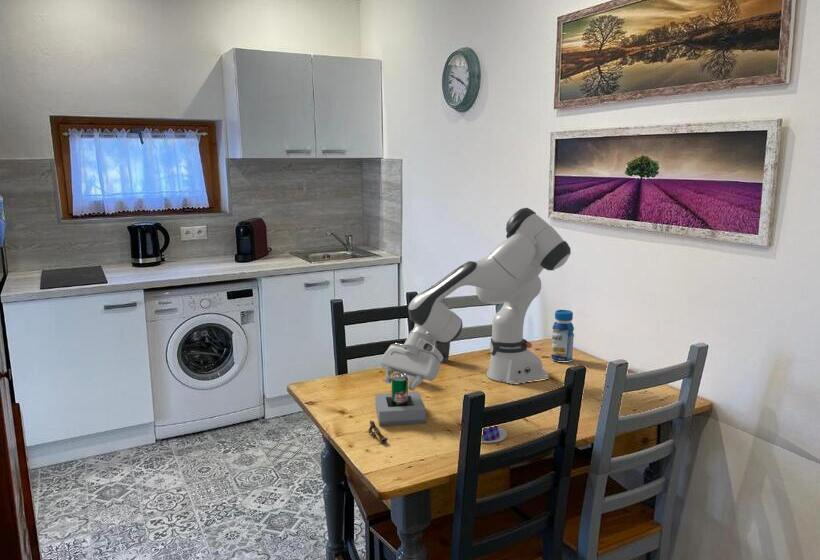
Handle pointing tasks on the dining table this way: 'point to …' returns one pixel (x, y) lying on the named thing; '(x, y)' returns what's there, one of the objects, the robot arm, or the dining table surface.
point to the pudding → (493, 434)
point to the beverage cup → (443, 350)
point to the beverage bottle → (562, 336)
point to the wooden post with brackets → (376, 432)
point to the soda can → (399, 390)
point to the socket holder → (400, 410)
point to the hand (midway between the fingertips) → (398, 385)
